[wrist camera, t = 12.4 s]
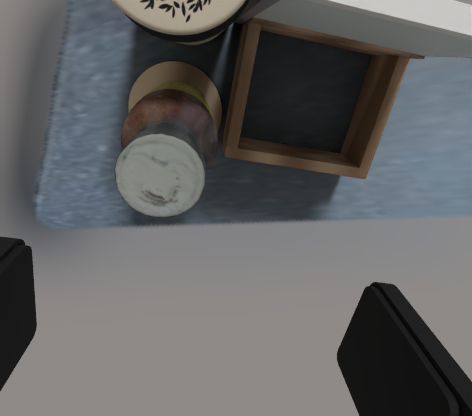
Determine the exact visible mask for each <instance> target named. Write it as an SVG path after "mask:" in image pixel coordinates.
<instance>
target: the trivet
mask: <svg viewBox="0 0 472 416" xmlns="http://www.w3.org/2000/svg"><path fill="white" fill-rule="evenodd" d="M173 81H177V82H184V83H187V84H189V85H192V86H194V87H195V88H196V89H197V90H199V91H200V92H201V94H202V95H203V96H204V98H205V99H206V101H207V103H208V105H209V108H210V111H211V114H212V117H213V120H214V122H215V126H216V129H217V132H218V130H219V127H220V124H221V119H222V105H221V100H220V96H219V93H218V91H217V89H216V87H215V85H214V84H213V82H212V81H211V80H210V78H209V77H208V76H207V75H206V74H205V73H203V72H202V71H201V70H200V69H198V68H196V67H194V66H192V65H190V64H187V63H184V62H178V61H168V62H162V63H159V64H156V65H154V66H152V67H150V68H148V69H147V70H145V71H144V72H143V73H142V74H141V75H140V76H139V77H138V79H137V80H136V82H135V83H134V85H133V87H132V89H131V92H130V96H129V103H128V105H129V112H130V110H131V109H132V108H133V107H134V105H135V104H136V103H137V102H138V101H139V100H141V99H142V98H143V97H144V96H145V95H146V94H148V93H149V92H150V91H152V90H153V89H154V88H156V87H157V86H159V85H161V84H163V83H167V82H173Z"/></svg>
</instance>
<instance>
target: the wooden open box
mask: <svg viewBox="0 0 472 416" xmlns="http://www.w3.org/2000/svg"><path fill="white" fill-rule="evenodd" d="M260 30H262V31H267V32H271V33H276V34H280V35H285V36H289V37H294V38H298V39H303V40H307V41H312V42H316V43H320V44H325V45H329V46H334V47H338V48H343V49H347V50H352V51H356V52H361V53H365V54H370V55H372V57H371V60H370V63H369V66H368V69H367V72H366V76H365V79H364V82H363V85H362V88H361V91H360V94H359V97H358V100H357V103H356V106H355V110H354V113H353V116H352V119H351V122H350V125H349V128H348V131H347V134H346V137H345V140H344V143H343V147H342V150H341V153H334V152H328V151H322V150H316V149H310V148H304V147H298V146H292V145H287V144H281V143H275V142H269V141H263V140H257V139H251V138H245V137H240V133H241V128H242V123H243V118H244V112H245V107H246V102H247V97H248V92H249V87H250V81H251V76H252V71H253V66H254V61H255V56H256V51H257V45H258V40H259V35H260ZM410 58H414V59H424V58H425V56H422V55H417V54H413V53H409V52H404V51H400V50H395V49H391V48H387V47H382V46H378V45H374V44H369V43H365V42H360V41H356V40H352V39H347V38H343V37H339V36H334V35H330V34H325V33H321V32H317V31H312V30H308V29H303V28H299V27H295V26H290V25H286V24H282V23H277V22H273V21H268V20H264V19H260V18H255V17H253V18H251V19H249V20H248V21H246V22H244V23H243V24H242V30H241V36H240V41H239V47H238V53H237V59H236V64H235V70H234V76H233V82H232V88H231V93H230V99H229V105H228V111H227V116H226V122H225V128H224V134H223V140H222V146H223V151H224V156H225V157H227V158H233V159H240V160H246V161H252V162H259V163H265V164H271V165H278V166H284V167H291V168H297V169H303V170H310V171H316V172H322V173H329V174H335V175H342V176H348V177H354V178H361V179H366V177H367V174H368V171H369V168H370V166H371V163H372V160H373V157H374V155H375V152H376V149H377V147H378V144H379V141H380V138H381V136H382V133H383V130H384V128H385V125H386V122H387V119H388V117H389V114H390V111H391V108H392V106H393V103H394V100H395V98H396V95H397V92H398V89H399V87H400V84H401V81H402V79H403V76H404V73H405V70H406V68H407V65H408V62H409V59H410Z"/></svg>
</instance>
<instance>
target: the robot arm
mask: <svg viewBox="0 0 472 416" xmlns="http://www.w3.org/2000/svg"><path fill="white" fill-rule="evenodd" d="M33 278H34V277H33V261H32V249H31V247H30V246H26V245H25V242H24V241H23V240H21V239H16V238H7V237H0V391H1V389H2V388H3V386H4V384H5V383H6V381H7V380H8V378H9V376H10V375H11V373H12V371H13V370H14V368H15V366H16V365H17V363H18V362H19V360H20V358H21V357H22V355H23V354H24V352H25V350H26V349H27V347H28V345H29V344H30V342H31V341H32V339H33V337H34V334H35V331H36V325H37V323H36V307H35V292H34V279H33ZM337 361H338V365H339V367H340V369H341V372H342V374H343V377H344V379H345V382H346V384H347V387H348V389H349V391H350V394H351V396H352V399H353V401H354V404H355V406H356V408H357V411H358V413H359V416H472V382H471V380H470V379H469V378H468V377H467V375H466V374H465V373H464V371H463V370H462V369H461V368H460V366H459V365H458V364H457V363H456V361H455V360H454V359H453V358H452V356H451V355H450V354H449V353H448V351H447V350H446V349H445V348H444V346H443V345H442V344H441V342H440V341H439V340H438V339H437V337H436V336H435V335H434V334H433V332H432V331H431V330H430V329H429V327H428V326H427V325H426V324H425V322H424V321H423V320H422V318H421V317H420V316H419V315H418V313H417V312H416V311H415V310H414V308H413V307H412V306H411V304H410V303H409V302H408V301H407V299H406V298H405V297H404V296H403V294H402V293H401V292H400V291H399V289H398V288H397V287H396V286H395V285H393V284H386V283H378V282H374V283H372V284H371V285H370V286H368V287H366V288H365V289H364V291H363V294H362V296H361V298H360V301H359V303H358V306H357V308H356V310H355V313H354V315H353V317H352V319H351V322H350V324H349V326H348V329H347V331H346V333H345V336H344V338H343V340H342V342H341V345H340V347H339V349H338V352H337Z"/></svg>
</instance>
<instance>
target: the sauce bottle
mask: <svg viewBox="0 0 472 416" xmlns="http://www.w3.org/2000/svg"><path fill="white" fill-rule="evenodd" d="M121 143H122V147H123V149H122V151H121V152H120V154H119V156H118V158H117V161H116V165H115V181H116V184H117V188H118V190H119V192H120V194H121V196H122V198H123V199H124V200H125V201H126V202H127V203H128V204H129V206H131V207H132V208H134V209H135V210H137V211H138V212H140V213H142V214H144V215H148V216H154V217H172V216H176V215H179V214H181V213H183V212H186V211H188V210H189V209H190V208H192V207H193V206H194V205H195V204H196V203H197V201H198V200H199V198H200V196H201V194H202V193H203V190H204V187H205V183H206V171H207V170H208V168H209V167H210V166H211V164H212V162H213V160H214V158H215V155H216V151H217V144H218V135H217V129H216V126H215V122H214V120H213V117H212V114H211V111H210V108H209V105H208V103H207V101H206V99H205V98H204V96H203V95H202V94H201V92H200V91H199V90H197V89H196V88H195V87H194V86H192V85H189V84H187V83H184V82H177V81H173V82H167V83H163V84H161V85H159V86H157V87H156V88H154V89H153V90H152V91H150V92H149V93H148V94H146V95H145V96H144V97H143V98H142V99H141V100H139V101H138V102H137V103H136V104H135V105H134V107H133V108H132V109H131V110H130V112H129V114H128V115H127V118H126V120H125V121H124V124H123V128H122V136H121Z"/></svg>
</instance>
